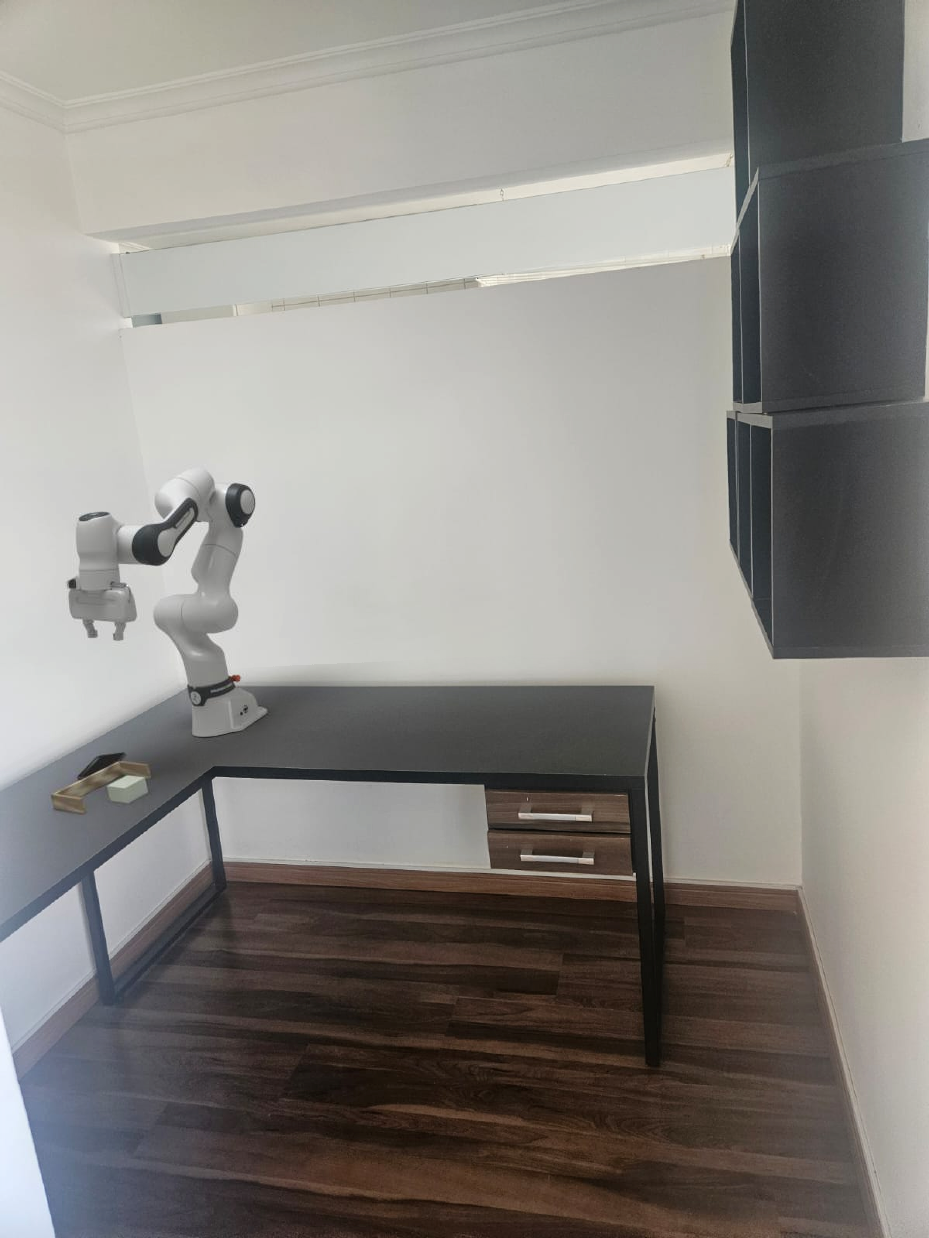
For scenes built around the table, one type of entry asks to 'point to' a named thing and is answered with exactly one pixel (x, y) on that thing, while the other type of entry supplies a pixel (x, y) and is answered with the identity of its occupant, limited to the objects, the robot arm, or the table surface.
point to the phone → (100, 764)
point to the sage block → (127, 789)
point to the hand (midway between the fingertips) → (105, 639)
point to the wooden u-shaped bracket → (95, 784)
